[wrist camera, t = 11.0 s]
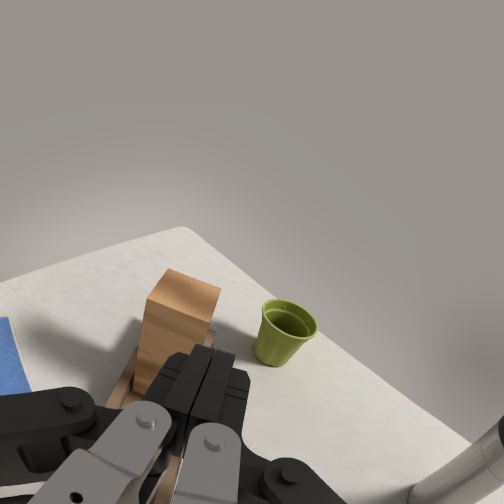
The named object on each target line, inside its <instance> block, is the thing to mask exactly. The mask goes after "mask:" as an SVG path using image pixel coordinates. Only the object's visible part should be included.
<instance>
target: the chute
mask: <svg viewBox="0 0 504 504" xmlns="http://www.w3.org/2000/svg"><path fill="white" fill-rule="evenodd" d="M214 335H215V331H212V330H209V329H208V330H207V333H206V336H205V338H204V340H203V343H202V345H204V346H207V347H210V348H212V347H213V343H212V342H213V338H214ZM138 346H139V345H138ZM138 346H137V348H136V350H135V352H134V353H133V355H132V357H131V359H130V360H129V362H128V364H127V366H126V368H125V369H124V371H123V373H122V375H121V377H120V379H119V380H118V382H117V384H116V386H115V388H114V390H113V391H112V393H111V395H110V397H109V399H108V401H107V403H106V405H105V406H104V407H106V408H111V409H124V408H125V407H126V406H127V405H128V404H130V403H132V402H136V401H140V400H141V399H142V397H143V396H144V395H142V394H139V393H137V392H135V391H133V382H134V374H135V367H136V360H137V353H138ZM183 451H184V449H183ZM182 456H183V452H182V454H181V457H176V456H172V459H171V461H170V463H169V466H168V468H167V469H166V473H165V475H164V477H163V479H162V481H161V483H160V485H159V486H158V488H157V490H156V492H155V494H154V496H153V498H152V499H151V501H150V503H149V504H170V502H171V498H172V494H173V490H174V486H175V482H176V479H177V475H178V471H179V467H180V464H181V460H182Z"/></svg>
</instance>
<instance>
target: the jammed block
mask: <svg viewBox="0 0 504 504" xmlns="http://www.w3.org/2000/svg"><path fill="white" fill-rule="evenodd" d="M220 291H221V288H219V287H216V286H213V285H210V284H208V283H205V282H203V281H200V280H197V279H195V278H192V277H189V276H187V275H184V274H182V273H179V272H177V271H174V270H171V269H169V268H168V269H167V271H166V272H165V273H164V275H163V276H162V278H161V279H160V280H159V282H158V283H157V285H156V286H155V287H154V289H153V290H152V292H151V293H150V294H149V296H148V297H147V300H146V306H145V311H144V316H143V322H142V328H141V334H140V340H139V346H138V353H137V360H136V367H135V374H134V382H133V391H135V392H137V393H139V394H142V395H144V394H145V393H146V391H147V389H148V388H149V386H150V385H151V383H152V382H153V380H154V379H155V377H156V375H157V374H158V372H159V371H160V369H161V368H162V367H163V365H164V363H165V362H166V360H167V359H168V357H170V356H171V355H173V354H175V353H177V352H182V353H185V354H188V355H190V353H191V351H192V349H193V348H194V346H195V344H196V343H197V344H200V345H202V343H203V340H204V338H205V335H206V332H207V330H208V327H209V324H210V322H211V319H212V315H213V312H214V309H215V306H216V303H217V300H218V297H219V294H220Z"/></svg>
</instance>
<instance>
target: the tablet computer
mask: <svg viewBox="0 0 504 504" xmlns="http://www.w3.org/2000/svg"><path fill="white" fill-rule="evenodd" d="M27 392H35V390H34V388H33V385H32V383H31V380H30V378H29V375H28V372H27V370H26V367H25V364H24V361H23V358H22V355H21V352H20V349H19V346H18V342H17V339H16V336H15V332H14V329H13V325H12V321H11V319H10V318H9V317H6V316H5V317H0V395H10V394H19V393H27Z"/></svg>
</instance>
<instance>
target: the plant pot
mask: <svg viewBox="0 0 504 504" xmlns="http://www.w3.org/2000/svg"><path fill="white" fill-rule="evenodd" d="M317 332H318V325H317V322H316V320H315V318H314V317H313V316H312V315H311V314H310V313H309V312H308V311H307V310H305V309H304V308H303V307H301V306H299V305H298V304H296V303H293V302H291V301H288V300H283V299H271V300H268V301H267V302H265V303H264V305H263V307H262V323H261V326H260V330H259V333H258V336H257V339H256V343H255V346H254V353H255V355H256V357H257V358H258V359H259V360H260V361H261V362H262V363H264V364H268V365H272V366H273V367H280V366H282V365H284V364H285V363H286V362H287V361H288V360H289V359H290V358H291V357H292V356H293V354H294V353H295V352H296V351H297V350H298V349H299V348H300V347H301V346H302V345H303V343H305V342H307V341H308V340H309V339H311V338H313V337H314V336H315V335H316V334H317Z"/></svg>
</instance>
